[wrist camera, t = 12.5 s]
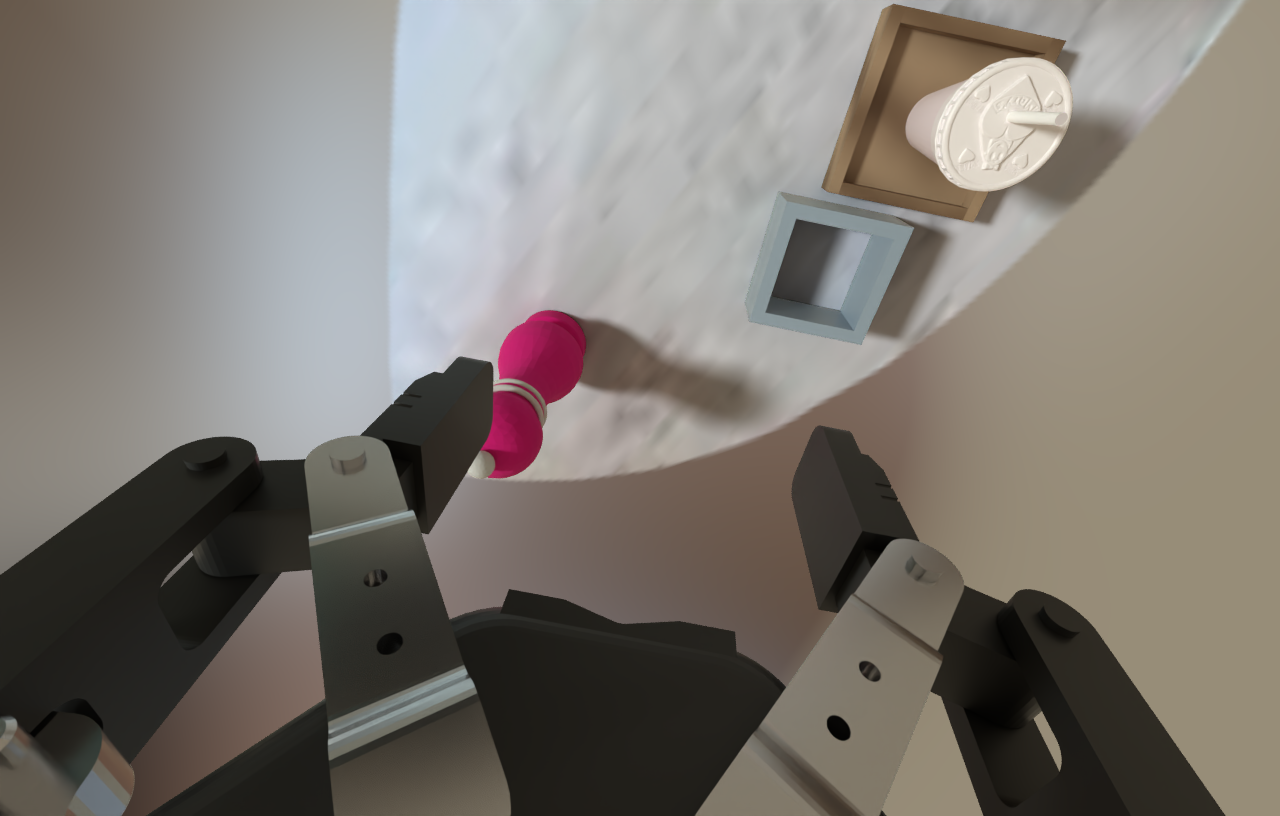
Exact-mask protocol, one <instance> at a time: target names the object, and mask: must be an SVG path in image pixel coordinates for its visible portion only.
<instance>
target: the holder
mask: <svg viewBox="0 0 1280 816" xmlns="http://www.w3.org/2000/svg"><path fill="white" fill-rule="evenodd" d="M796 219H799V220H804V221H809V222H813V223H818V224H823V225H828V226H833V227H837V228H842V229H847V230H852V231H857V232H861V233H866V234H871V238H870V240H869V243H868V245H867V248H866V250H865V252H864V255H863V257H862V260H861V262H860V264H859V267H858V269H857V272H856V274H855V277H854V279H853V281H852V284H851V286H850V289H849V291H848V294H847V296H846V298H845V301H844V303H843V306H842V308H841V310H840V311H839V310H834V309H829V308H824V307H819V306H815V305H810V304H805V303H800V302H795V301H790V300H786V299H781V298H776V297H771V294H772V291H773V288H774V285H775V282H776V279H777V276H778V273H779V270H780V267H781V264H782V260H783V257H784V254H785V251H786V248H787V245H788V242H789V239H790V236H791V233H792V230H793V227H794V224H795V221H796ZM913 230H914V227H912V226H910V225H908V224H907V223H905V222H903V221H902V220H900V219H898V218H896V217H895V216H893V215H888V214H883V213H878V212H873V211H869V210H864V209H859V208H854V207H850V206H845V205H840V204H835V203H830V202H826V201H821V200H816V199H811V198H807V197H802V196H797V195H792V194H787V193H783V192H778V194H777V198H776V201H775V204H774V208H773V211H772V214H771V218H770V221H769V224H768V227H767V231H766V234H765V237H764V241H763V244H762V247H761V251H760V254H759V257H758V260H757V264H756V267H755V270H754V274H753V277H752V280H751V284H750V287H749V290H748V293H747V297H746V300H745V306H746V310H747V314H748V318H749V322H753V323H758V324H763V325H767V326H772V327H777V328H782V329H787V330H792V331H797V332H801V333H806V334H811V335H816V336H821V337H826V338H830V339H835V340H840V341H845V342H850V343H855V344H860V345H861V344H862V342H863V340H864V338H865V336H866V333H867V331H868V329H869V327H870V325H871V322H872V320H873V318H874V316H875V314H876V311H877V309H878V307H879V305H880V303H881V300H882V298H883V296H884V294H885V291H886V289H887V287H888V285H889V283H890V280H891V278H892V276H893V274H894V272H895V269H896V267H897V265H898V263H899V261H900V258H901V256H902V254H903V252H904V250H905V247H906V245H907V243H908V241H909V239H910V236H911V234H912V232H913Z"/></svg>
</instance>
